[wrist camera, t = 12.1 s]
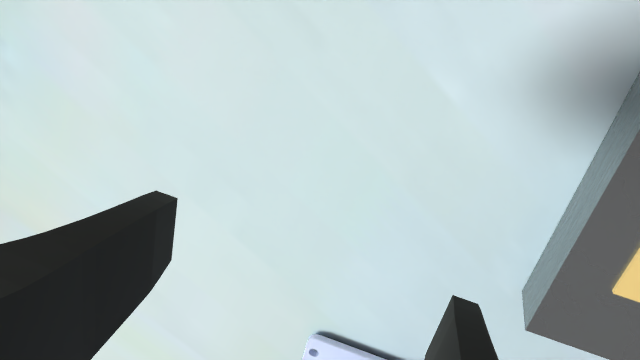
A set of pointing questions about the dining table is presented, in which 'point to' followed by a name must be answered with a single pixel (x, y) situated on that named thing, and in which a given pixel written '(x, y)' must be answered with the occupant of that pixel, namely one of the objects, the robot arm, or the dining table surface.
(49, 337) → the robot arm
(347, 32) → the dining table surface
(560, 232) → the rack plate
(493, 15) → the dining table surface
